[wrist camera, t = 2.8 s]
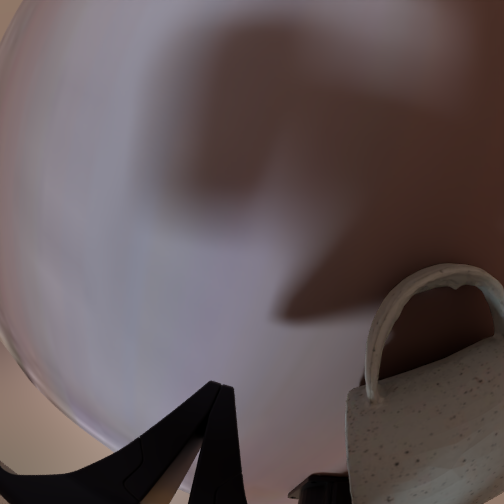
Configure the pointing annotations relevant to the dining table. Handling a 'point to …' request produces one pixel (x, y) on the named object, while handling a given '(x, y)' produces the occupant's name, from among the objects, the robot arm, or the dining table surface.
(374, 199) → the dining table surface
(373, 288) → the dining table surface
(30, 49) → the dining table surface
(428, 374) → the ceramic mug
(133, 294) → the dining table surface
